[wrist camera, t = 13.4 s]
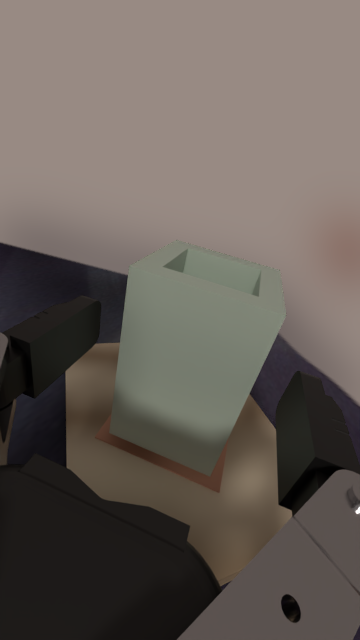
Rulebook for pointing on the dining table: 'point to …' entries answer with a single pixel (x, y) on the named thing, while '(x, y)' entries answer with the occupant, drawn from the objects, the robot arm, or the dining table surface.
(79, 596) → the robot arm
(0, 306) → the dining table surface
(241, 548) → the post board
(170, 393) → the sleeve
